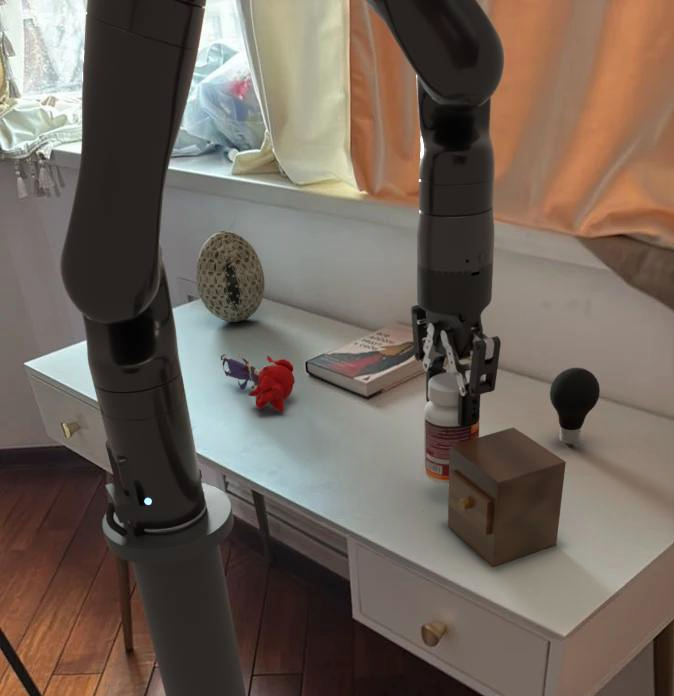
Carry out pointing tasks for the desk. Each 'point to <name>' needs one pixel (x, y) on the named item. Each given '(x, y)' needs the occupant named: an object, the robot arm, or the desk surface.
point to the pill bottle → (443, 426)
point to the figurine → (264, 380)
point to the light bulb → (573, 400)
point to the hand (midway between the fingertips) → (451, 412)
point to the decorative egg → (230, 277)
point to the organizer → (505, 495)
